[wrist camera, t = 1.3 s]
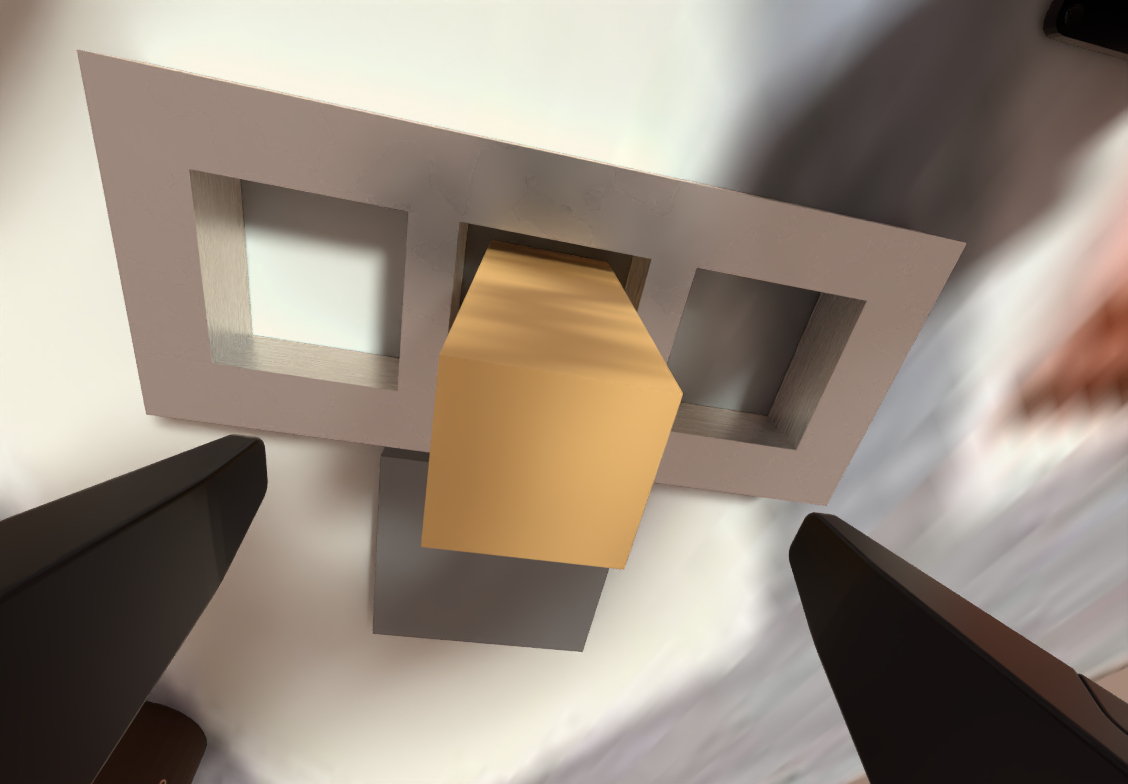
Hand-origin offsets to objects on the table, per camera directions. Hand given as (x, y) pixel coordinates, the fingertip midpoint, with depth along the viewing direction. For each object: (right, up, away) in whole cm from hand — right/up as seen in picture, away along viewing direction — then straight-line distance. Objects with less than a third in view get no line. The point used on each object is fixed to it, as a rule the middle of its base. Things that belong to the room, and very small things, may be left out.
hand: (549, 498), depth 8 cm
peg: (-1, +5, +10) cm, 11 cm away
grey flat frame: (-1, +5, +10) cm, 11 cm away
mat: (-3, -5, +15) cm, 16 cm away
